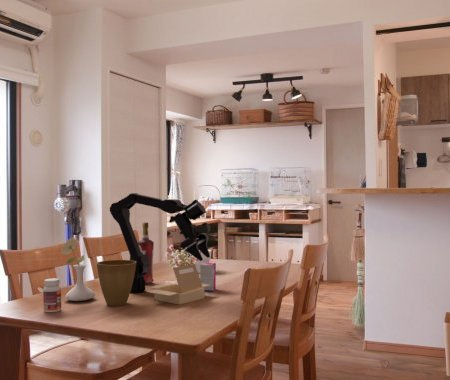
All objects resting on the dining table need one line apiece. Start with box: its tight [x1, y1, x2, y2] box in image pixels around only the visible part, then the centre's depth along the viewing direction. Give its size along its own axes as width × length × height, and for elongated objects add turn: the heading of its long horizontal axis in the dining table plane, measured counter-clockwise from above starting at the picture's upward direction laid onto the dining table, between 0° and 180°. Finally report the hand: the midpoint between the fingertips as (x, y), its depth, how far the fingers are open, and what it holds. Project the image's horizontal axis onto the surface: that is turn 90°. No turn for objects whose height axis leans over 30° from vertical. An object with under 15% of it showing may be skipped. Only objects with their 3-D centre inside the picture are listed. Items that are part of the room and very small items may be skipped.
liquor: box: [137, 221, 155, 285], centre depth 236 cm, size 7×7×28 cm
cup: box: [195, 248, 212, 274], centre depth 266 cm, size 12×12×11 cm
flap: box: [172, 263, 202, 292], centre depth 200 cm, size 1×12×10 cm, turn 142°
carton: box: [146, 281, 211, 306], centre depth 204 cm, size 19×24×4 cm
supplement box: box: [199, 262, 217, 292], centre depth 219 cm, size 6×6×12 cm
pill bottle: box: [42, 277, 62, 313], centre depth 186 cm, size 6×6×11 cm
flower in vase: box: [60, 237, 96, 302], centre depth 203 cm, size 13×11×25 cm
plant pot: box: [96, 259, 136, 307], centre depth 196 cm, size 15×15×16 cm
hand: (205, 258), depth 209 cm, fingers open, 9 cm apart
